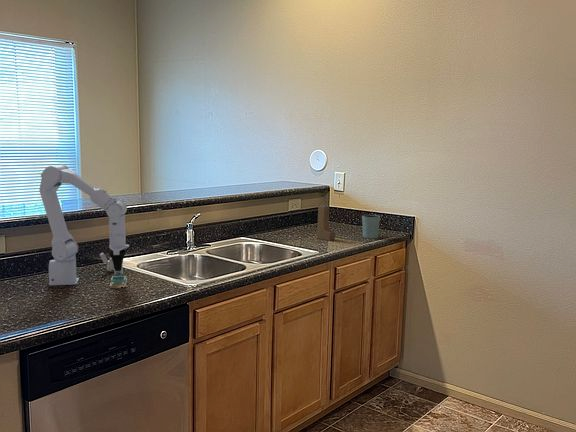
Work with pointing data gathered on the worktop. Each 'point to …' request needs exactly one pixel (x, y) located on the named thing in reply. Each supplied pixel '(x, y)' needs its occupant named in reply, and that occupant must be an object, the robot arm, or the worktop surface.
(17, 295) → the worktop surface
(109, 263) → the grey lever block
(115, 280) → the pin board
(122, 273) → the pin
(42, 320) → the worktop surface
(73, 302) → the worktop surface
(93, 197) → the robot arm
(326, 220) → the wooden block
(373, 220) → the drinking glass
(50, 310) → the worktop surface
